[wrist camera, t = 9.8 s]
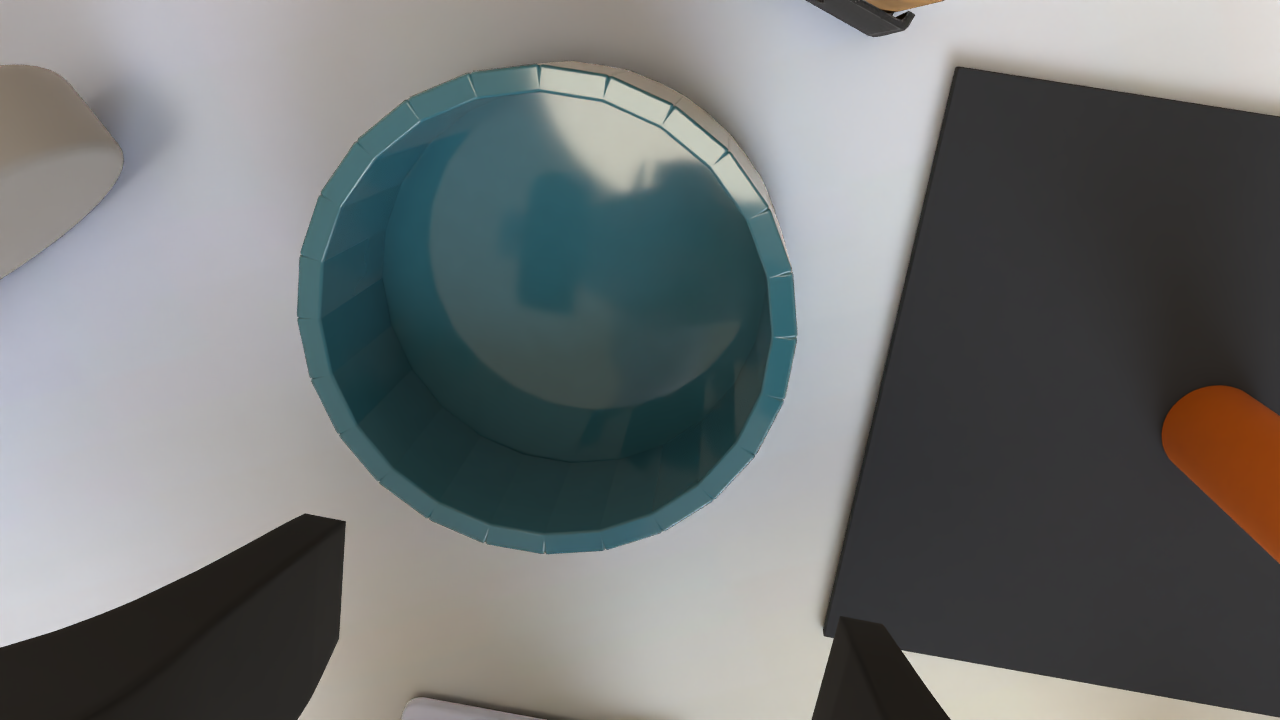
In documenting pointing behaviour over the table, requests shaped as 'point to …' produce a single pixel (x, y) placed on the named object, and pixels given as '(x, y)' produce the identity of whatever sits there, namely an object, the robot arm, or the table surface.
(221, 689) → the robot arm
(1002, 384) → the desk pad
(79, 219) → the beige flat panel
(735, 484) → the table surface
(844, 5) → the ammunition clip
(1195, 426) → the glue stick
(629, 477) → the teal round dish
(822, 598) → the table surface
